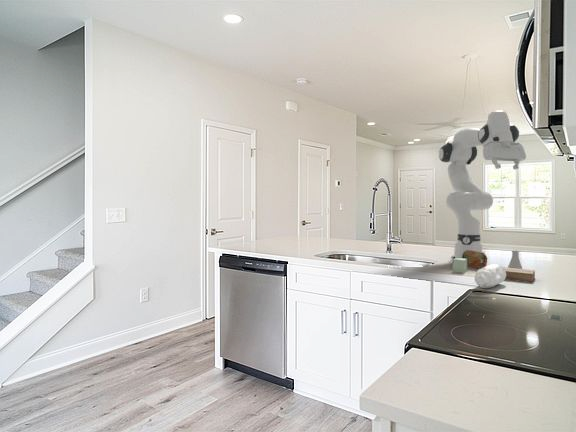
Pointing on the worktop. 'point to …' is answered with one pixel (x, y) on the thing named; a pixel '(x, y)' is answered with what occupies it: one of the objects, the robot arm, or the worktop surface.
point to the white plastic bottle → (490, 276)
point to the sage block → (459, 265)
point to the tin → (475, 259)
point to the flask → (515, 260)
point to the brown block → (520, 274)
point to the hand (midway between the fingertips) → (507, 168)
